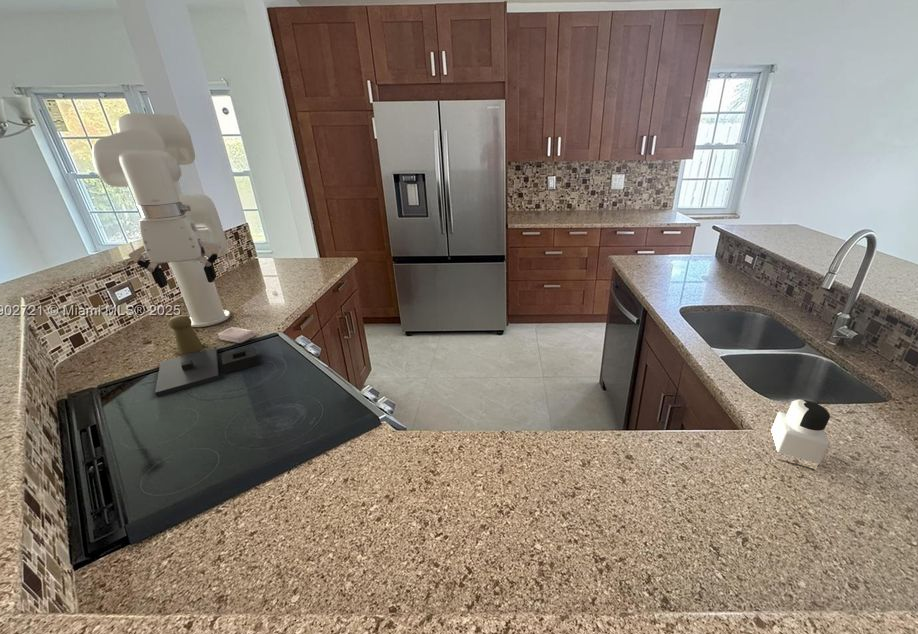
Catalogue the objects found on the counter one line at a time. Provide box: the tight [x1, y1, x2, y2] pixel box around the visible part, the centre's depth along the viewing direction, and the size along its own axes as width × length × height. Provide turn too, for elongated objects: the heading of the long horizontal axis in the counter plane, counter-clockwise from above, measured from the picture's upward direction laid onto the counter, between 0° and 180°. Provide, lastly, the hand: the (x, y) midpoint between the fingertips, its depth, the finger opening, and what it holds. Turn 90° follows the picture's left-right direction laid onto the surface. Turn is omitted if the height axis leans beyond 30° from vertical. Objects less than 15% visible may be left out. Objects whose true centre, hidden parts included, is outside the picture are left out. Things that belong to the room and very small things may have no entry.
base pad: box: [154, 347, 221, 397], centre depth 102 cm, size 18×13×3 cm
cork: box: [168, 314, 204, 355], centre depth 111 cm, size 6×6×11 cm
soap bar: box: [217, 326, 255, 344], centre depth 119 cm, size 5×9×2 cm, turn 73°
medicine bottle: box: [770, 399, 831, 465], centre depth 74 cm, size 7×7×12 cm
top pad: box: [221, 346, 260, 374], centre depth 105 cm, size 6×8×3 cm
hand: (188, 283), depth 90 cm, fingers open, 9 cm apart
